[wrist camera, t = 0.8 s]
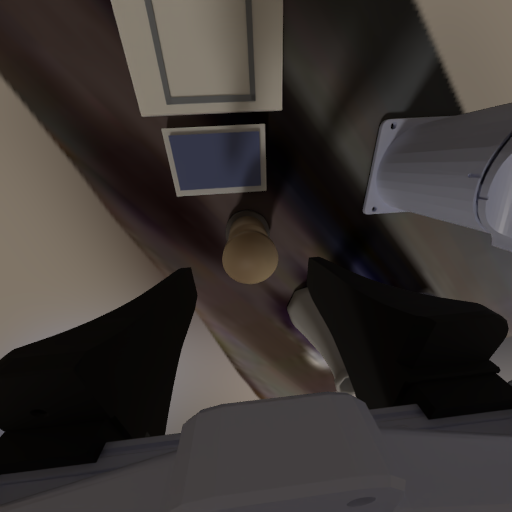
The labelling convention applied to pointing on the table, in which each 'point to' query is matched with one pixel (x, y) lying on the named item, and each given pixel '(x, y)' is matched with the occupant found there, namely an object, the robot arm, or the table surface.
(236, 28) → the paper sheet
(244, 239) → the stamp
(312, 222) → the table surface
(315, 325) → the flask
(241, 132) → the ink pad
